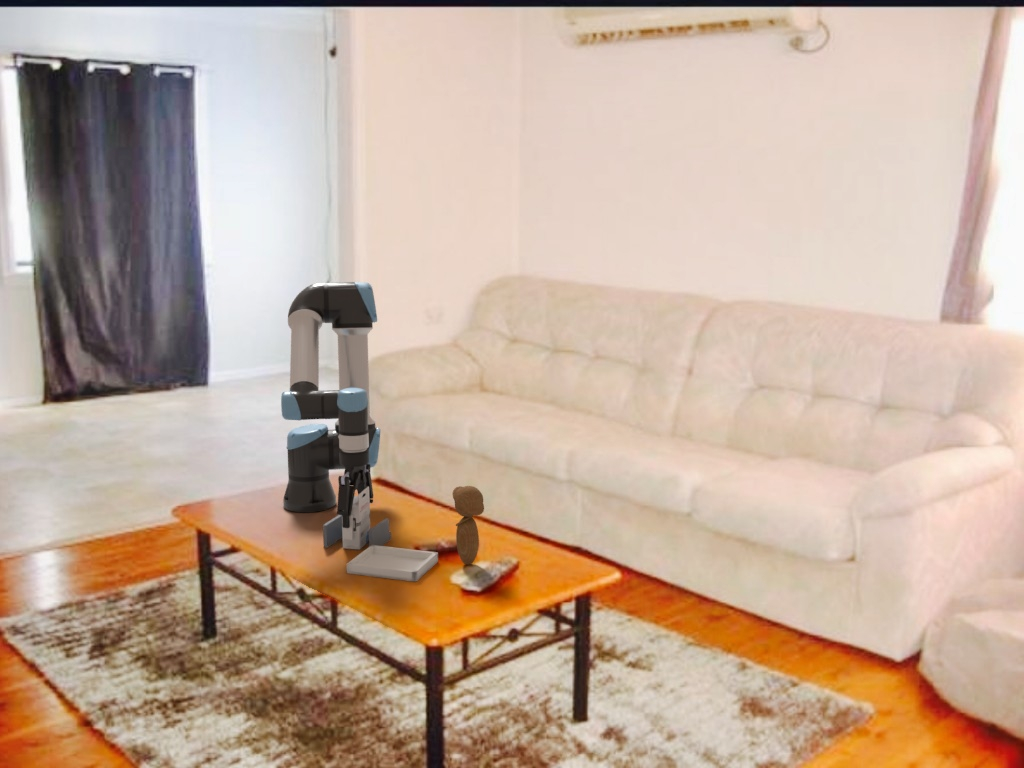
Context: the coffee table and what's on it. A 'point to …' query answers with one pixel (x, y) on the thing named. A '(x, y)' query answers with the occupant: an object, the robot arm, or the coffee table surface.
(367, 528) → the ink box
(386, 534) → the bay
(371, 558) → the tray
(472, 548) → the figurine
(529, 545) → the coffee table surface
